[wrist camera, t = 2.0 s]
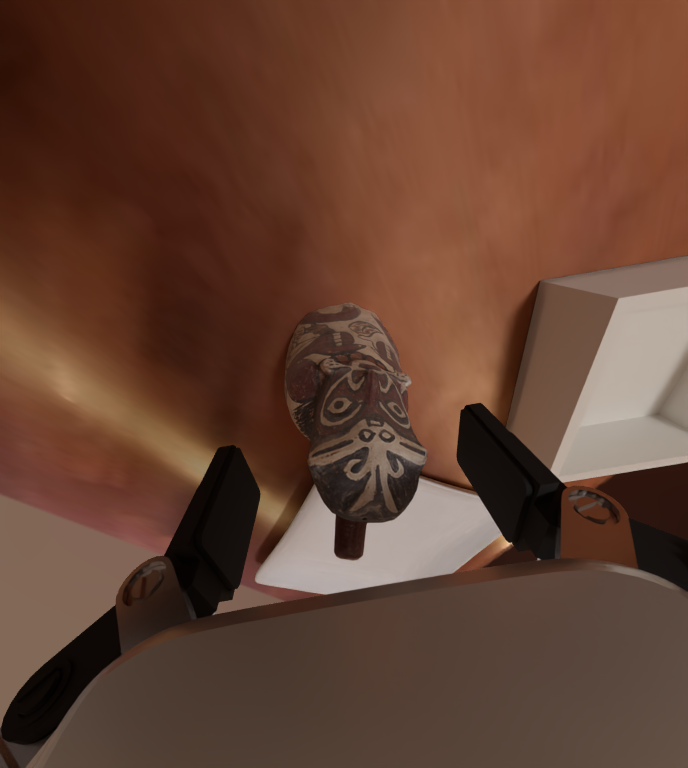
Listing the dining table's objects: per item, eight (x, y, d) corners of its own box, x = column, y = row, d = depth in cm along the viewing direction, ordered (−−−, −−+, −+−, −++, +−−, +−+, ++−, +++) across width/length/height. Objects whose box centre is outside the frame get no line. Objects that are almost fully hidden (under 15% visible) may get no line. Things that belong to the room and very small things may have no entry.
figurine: (410, 325, 17) (544, 466, 7) (366, 407, 20) (414, 588, 10) (307, 285, 15) (281, 394, 5) (277, 382, 19) (223, 570, 8)
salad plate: (334, 423, 21) (336, 454, 18) (512, 484, 28) (535, 515, 25) (256, 552, 30) (249, 587, 27) (403, 577, 37) (411, 607, 34)
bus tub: (540, 280, 16) (618, 298, 12) (754, 244, 16) (911, 248, 12) (503, 438, 23) (544, 485, 19) (653, 413, 23) (728, 455, 19)
